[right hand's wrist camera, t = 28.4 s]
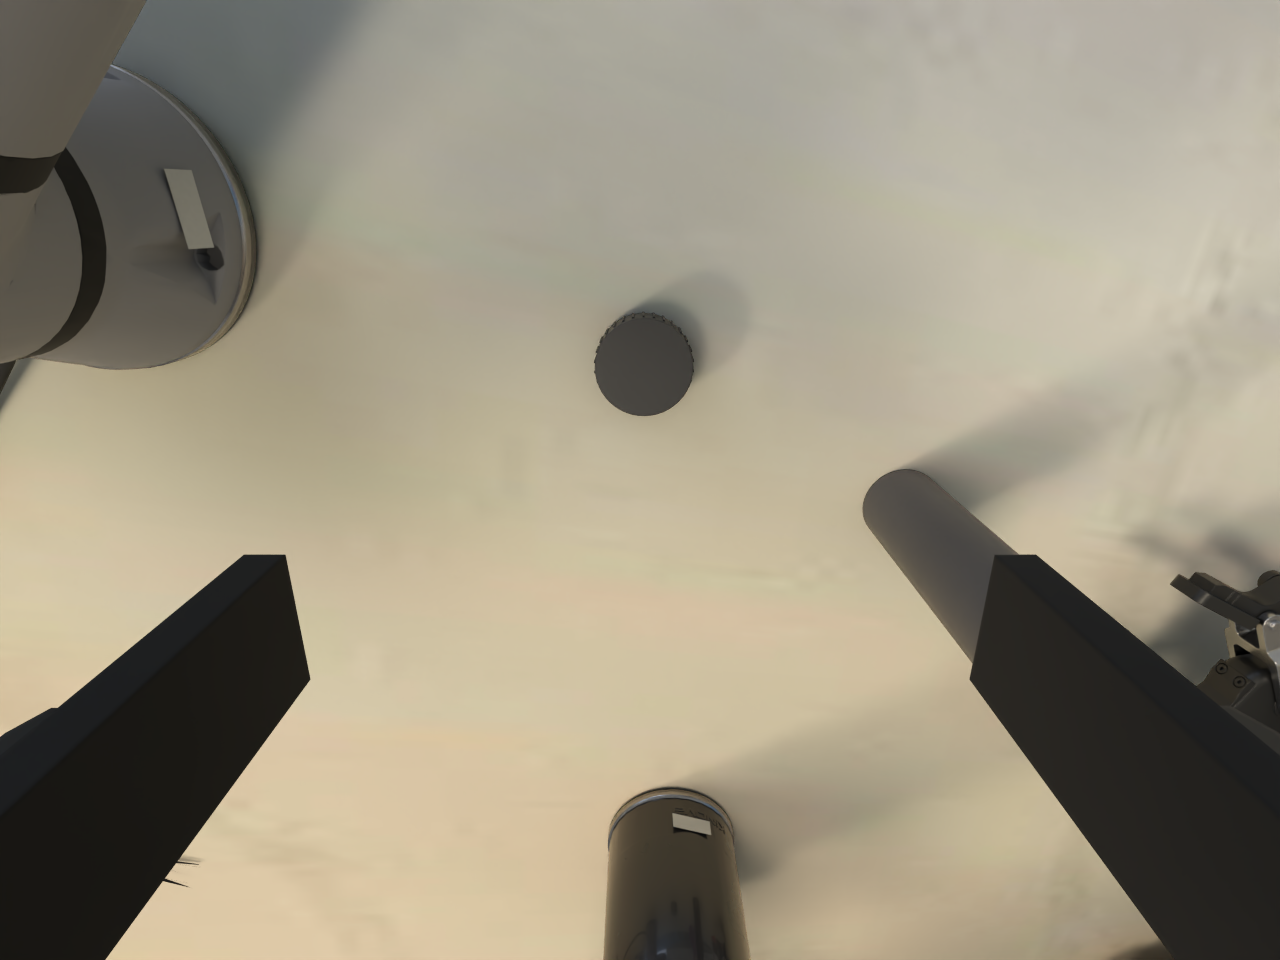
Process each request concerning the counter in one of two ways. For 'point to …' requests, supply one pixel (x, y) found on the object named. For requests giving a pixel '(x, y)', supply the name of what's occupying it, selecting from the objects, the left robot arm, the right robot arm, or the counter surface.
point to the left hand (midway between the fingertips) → (1131, 648)
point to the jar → (936, 548)
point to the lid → (643, 364)
